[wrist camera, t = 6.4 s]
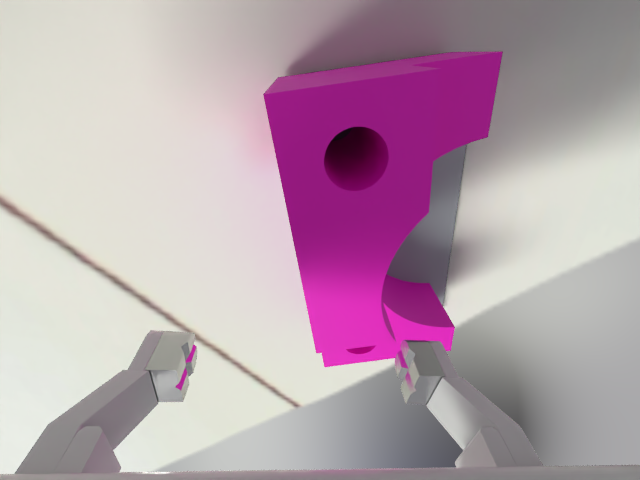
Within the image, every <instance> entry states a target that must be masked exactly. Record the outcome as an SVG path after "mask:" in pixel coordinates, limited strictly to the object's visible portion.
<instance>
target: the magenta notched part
mask: <svg viewBox="0 0 640 480" xmlns="http://www.w3.org/2000/svg"><path fill="white" fill-rule="evenodd" d="M501 58H502V52H449V53H442V54H435V55H429V56H422V57H415V58H408V59H401V60H394V61H388V62H381V63H374V64H367V65H360V66H353V67H347V68H340V69H333V70H326V71H319V72H312V73H306V74H299V75H292V76H285V77H278V78H277V79H276V80H275V82H274V83H273V84H272V85H271V86H270V87H269V89H268V90H267V91H266V92H265V93H264V94H263V95H264V99H265V104H266V109H267V114H268V119H269V124H270V129H271V134H272V139H273V143H274V148H275V153H276V158H277V163H278V168H279V173H280V178H281V182H282V187H283V192H284V197H285V202H286V207H287V212H288V217H289V222H290V226H291V231H292V236H293V241H294V246H295V251H296V256H297V261H298V266H299V270H300V275H301V280H302V285H303V290H304V295H305V300H306V305H307V309H308V314H309V319H310V324H311V329H312V334H313V339H314V344H315V349H316V353H322V356H323V362H324V367H329V366H337V365H345V364H352V363H360V362H367V361H375V360H383V359H390V358H396V355H397V353H398V352H399V351H401V347H400V345H401V342H402V341H403V340H426V341H440V342H441V343H442V344H443V346H444V348H445V350H446V351H450V350H451V345H452V339H453V334H454V328H455V327H454V325H453V323H452V322H451V320H450V318H449V316H448V315H447V313H446V311H445V309H444V308H443V306H442V304H441V302H440V301H439V299H438V297H437V295H436V294H435V292H434V290H433V288H432V287H431V285H430V283H414V282H408V281H403V280H400V279H397V278H394V277H391V276H389V275H387V274H386V273H387V271H388V268H389V266H390V263H391V261H392V259H393V258H394V256H395V254H396V252H397V250H398V249H399V247H400V246H401V244H402V243H403V241H404V240H405V238H406V237H407V236H408V235H409V234H410V232H411V231H412V230H413V229H414V228H415V226H416V225H417V224H418V223H419V222H420V221H421V220H422V219H423V218H424V217H425V216H426V215H427V214H428V213H429V207H430V195H431V183H432V170H433V161H435V160H436V159H438V158H439V157H441V156H443V155H444V154H446V153H448V152H450V151H452V150H454V149H456V148H458V147H461V146H463V145H466V144H468V143H470V142H473V141H476V140H480V139H483V138H486V137H488V133H489V127H490V121H491V116H492V110H493V104H494V98H495V93H496V87H497V81H498V75H499V70H500V64H501ZM351 127H352V130H351V131H350V133H349V134H348V135H347V136H345V137H344V138H342V139H340V140H332V139H333V138H334V137H335V136H336V135H337V134H339V133H340V132H342V131H343V130H345V129H348V128H351Z"/></svg>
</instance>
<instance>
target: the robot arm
mask: <svg viewBox="0 0 640 480" xmlns="http://www.w3.org/2000/svg"><path fill="white" fill-rule="evenodd" d="M194 341H195V335H194V333H188V332H172V331H152V330H151V331H150V332H149V333H148V334H147V335H146V337H145V339H144V341H143V343H142V344H141V346H140V348H139V350H138V352H137V353H136V355H135V357H134V359H133V361H132V363H131V364H130V366H129V368H128V370H122V371H121V372H120V373H118V374H117V375H115V376H114V377H113V378H111V379H110V380H109V381H107V382H106V383H104V384H103V385H102V386H100V387H99V388H98V389H96V390H95V391H94V392H92V393H91V394H89V395H88V396H87V397H85V398H84V399H83V400H81V401H80V402H78V403H77V404H76V405H74V406H73V407H72V408H70V409H69V410H68V411H66V412H65V413H63V414H62V415H61V416H59V417H58V418H57V419H55V420H54V421H52V422H51V423H50V424H48V425H47V427H46V428H45V430H44V431H43V433H42V434H41V436H40V437H39V439H38V440H37V442H36V443H35V444H34V446H33V447H32V449H31V450H30V452H29V453H28V455H27V456H26V458H25V459H24V461H23V462H22V463H21V465H20V466H19V468H18V469H17V471H16V472H15V474H0V480H640V465H599V466H543V464H542V462H541V461H540V459H539V457H538V456H537V454H536V452H535V451H534V449H533V448H532V446H531V444H530V442H529V440H528V439H527V437H526V435H525V434H524V432H523V430H522V429H521V427H520V426H519V425H518V424H517V423H516V422H514V421H513V420H512V419H511V418H510V417H508V416H507V415H506V414H505V413H504V412H503V411H501V410H500V409H499V408H498V407H497V406H495V405H494V404H493V403H492V402H491V401H490V400H489V399H487V398H486V397H485V396H484V395H483V394H481V393H480V392H479V391H478V390H477V389H475V388H474V387H473V386H472V385H471V384H470V383H469V382H467V381H466V380H465V379H464V378H463V377H459V376H458V374H457V372H456V370H455V368H454V366H453V364H452V362H451V360H450V358H449V356H448V354H447V352H446V350H445V348H444V346H443V344H442V343H441V342H440V341H426V340H403V341H402V342H401V345H400V347H401V351H399V352H398V353H397V355H396V358H395V369H396V374H397V377H398V378H399V379H400V380H401V381H402V382H403V383H402V386H401V390H402V393H403V397H404V400H405V403H406V404H417V405H427V407H428V409H429V410H430V411H431V412H432V413H433V414H434V416H435V417H436V418H437V419H438V421H439V422H440V423H441V424H442V425H443V426H444V428H445V429H446V430H447V431H448V432H449V434H450V435H451V436H452V437H453V438H454V440H455V441H456V442H457V443H458V444H459V446H460V447H461V448H462V449H463V450H464V451H463V452H462V453H461V455H460V456H459V457H458V459H457V460H456V462H455V465H456V467H457V468H399V469H398V468H395V469H394V468H392V469H328V470H327V469H322V470H257V471H256V470H252V471H189V472H188V471H186V472H185V471H183V472H119V471H120V469H121V466H120V464H119V462H118V460H117V458H116V456H115V454H114V452H113V450H114V449H115V448H116V447H117V446H118V445H119V444H120V443H121V442H122V441H123V440H124V438H125V437H126V436H127V435H128V434H129V433H130V432H131V431H132V430H133V429H134V428H135V427H136V426H137V425H138V424H139V423H140V422H141V421H142V420H143V419H144V418H145V417H146V416H147V415H148V414H149V413H150V412H151V410H152V409H153V408H154V407H155V406H156V405H157V404H158V402H183V401H184V398H185V395H186V392H187V389H188V386H189V379H188V377H189V376H190V375H191V374H192V373H193V371H194V368H195V365H196V359H197V347H196V346H195V345H194Z"/></svg>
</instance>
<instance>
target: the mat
mask: <svg viewBox="0 0 640 480" xmlns="http://www.w3.org/2000/svg"><path fill="white" fill-rule="evenodd" d="M351 130H352V127H351V128H348V129H345V130H343V131H342V132H340V133H339V134H337V135H336V136H335V137H334V138H333V139H332V140H340V139H342V138H344V137H345V136H347V135H348V134H349V133H350V131H351ZM465 151H466V145H463V146H461V147H458V148H456V149H454V150H452V151H450V152H448V153H446V154H444V155H443V156H441V157H439V158H438V159H436V160H435V161H433V170H432V183H431V195H430V207H429V213H428V214H427V215H426V216H425V217H424V218H423V219H422V220H421V221H420V222H419V223H418V224H417V225H416V226H415V228H414V229H413V230H412V231H411V232H410V234H409V235H408V236H407V237H406V238H405V240H404V241H403V243H402V244H401V246H400V247H399V249H398V250H397V252H396V254H395V256H394V258H393V259H392V261H391V263H390V266H389V268H388V271H387V273H386V274H387V275H389V276H391V277H394V278H397V279H400V280H403V281H408V282H414V283H430V285H431V287H432V288H433V290H434V292H435V294H436V295H437V297H438V299H439V301H440V302H441V304H442V306H443V301H444V294H445V287H446V281H447V274H448V267H449V260H450V253H451V247H452V240H453V233H454V226H455V219H456V212H457V206H458V199H459V192H460V185H461V178H462V172H463V165H464V158H465Z"/></svg>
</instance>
